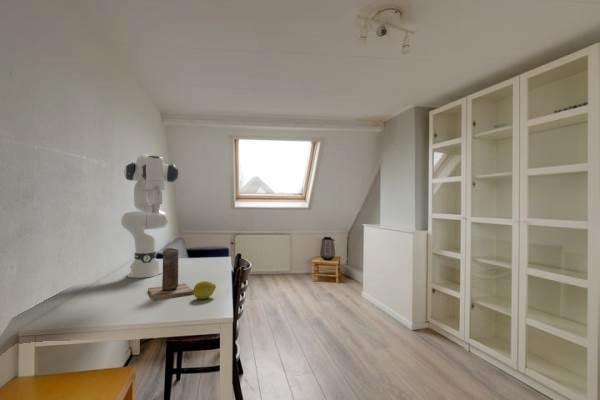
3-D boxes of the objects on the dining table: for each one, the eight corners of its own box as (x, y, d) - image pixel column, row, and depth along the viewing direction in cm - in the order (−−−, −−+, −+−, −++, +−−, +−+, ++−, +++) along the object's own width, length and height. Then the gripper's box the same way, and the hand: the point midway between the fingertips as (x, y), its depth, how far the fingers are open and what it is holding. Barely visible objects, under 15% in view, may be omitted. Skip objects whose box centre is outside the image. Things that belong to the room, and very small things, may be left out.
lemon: (193, 302, 146) (193, 284, 146) (190, 298, 153) (190, 281, 153) (218, 299, 151) (218, 281, 151) (213, 294, 158) (213, 278, 158)
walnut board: (148, 291, 165) (148, 288, 165) (184, 286, 175) (184, 283, 175) (154, 300, 150) (154, 296, 150) (194, 294, 159) (194, 290, 159)
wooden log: (174, 286, 168) (174, 247, 168) (181, 289, 163) (181, 248, 163) (159, 289, 163) (159, 248, 163) (165, 292, 157) (165, 250, 157)
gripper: (165, 185, 163) (165, 213, 163) (158, 187, 181) (158, 212, 181) (151, 185, 160) (151, 213, 160) (145, 187, 177) (145, 212, 177)
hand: (155, 213), depth 170 cm, fingers open, 8 cm apart
